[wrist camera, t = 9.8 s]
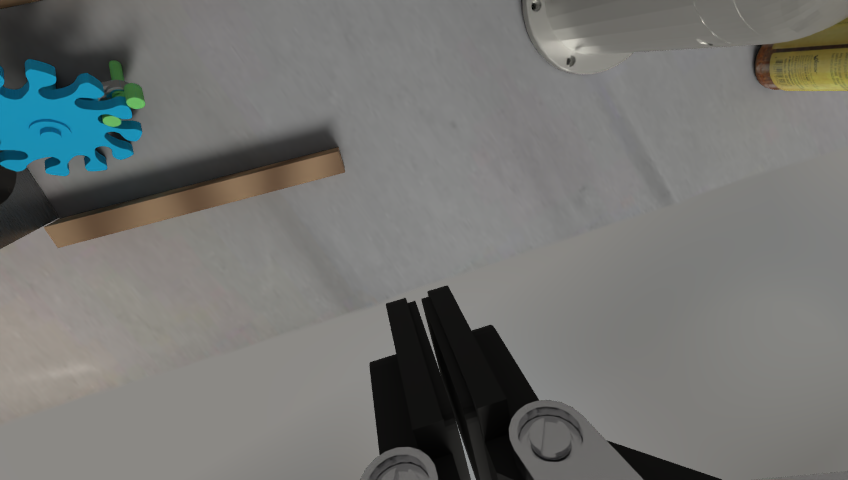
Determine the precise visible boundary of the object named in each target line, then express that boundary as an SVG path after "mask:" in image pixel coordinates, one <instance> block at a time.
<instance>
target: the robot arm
mask: <svg viewBox="0 0 848 480" xmlns="http://www.w3.org/2000/svg"><path fill="white" fill-rule="evenodd" d="M532 4H533V5H534V9H533V10H532V8H531V5H532ZM522 5H523V16H524V21H525V25H526V29H527V32H528V34H529V37H530V39H531V41H532V43H533V45H534V46H535V48H536V49H537V51H538V52H539V54H540V55H541V56H542V57H543V58H544V59H545V60H546V61H547V62H548V63H549V64H551V65H553V66H554V67H556V68H557V69H559V70H562V71H565V72H568V73H573V74H595V73H599V72H603V71H606V70H609V69H611V68H613V67H615V66H617V65H619V64H620V63H621V62H623V61H624V60H626V59H627V58H628V57H630V56H631V55H632V54H633V53H634V52H649V51H666V50H683V49H700V48H717V47H733V46H747V45H763V44H774V43H781V42H788V41H792V40H796V39H800V38H804V37H807V36H810V35H812V34H815V33H817V32H820V31H822V30H825V29H827V28H829V27H831V26H833V25H835V24H837V23H839V22H841V21H842V20H844V19H846V18H847V17H848V0H522ZM567 59H568V63H566V61H567ZM428 296H429V297H426V298H423V299H422V304H423V308H424V312H425V316H426V319H427V323H428V327H429V331H430V335H431V339H432V343H433V347H434V350H435V354H436V358H437V362H438V366H439V368H438V366H437V363H436V360H435V357H434V354H433V351H432V348H431V345H430V342H429V339H428V337H427V334H426V331H425V328H424V325H423V322H422V319H421V316H420V313H419V310H418V307H417V305H416V302H415V301H413V302H410V303H407V300H406V298H404V299H400V300H397V301H393V302H390V303H387V304H386V308H387V312H388V317H389V322H390V326H391V331H392V336H393V340H394V345H395V349H396V354H395V355H392V356H389V357H385V358H382V359H379V360H376V361H373V362H370V374H371V383H372V392H373V400H374V410H375V418H376V427H377V435H378V445H379V453H380V456H378V457H377V458H375V459H374V460H373V461H372V462H371V464H370V465H369V466H368V467H367V468H366V470H365V471H364V473H363V475H362V477H361V479H360V480H471V478H470V474H469V470H468V466H467V462H466V458H465V454H464V450H463V446H462V443H461V439H460V435H459V431H460V434H461V437H462V440H463V443H464V446H465V449H466V451H467V454H468V457H469V460H470V463H471V466H472V469H473V471H474V475H475V478H476V480H722V479H719V478H716V477H713V476H710V475H707V474H704V473H701V472H698V471H695V470H692V469H689V468H686V467H683V466H680V465H678V464H674V463H672V462H669V461H666V460H663V459H660V458H657V457H654V456H651V455H648V454H645V453H642V452H639V451H636V450H633V449H630V448H627V447H625V446H622V445H618V444H616V443H613V442H610V441H607V440H605V439H604V437H603V436H602V435H600V433H599V432H598V431H597V430H596V429H595V428H594V427H593V426H592V425H591V424H590V423H589V422H588V421H587V419H586V418H585V417H584V416H583V415H581V414H580V413H579V412H578V411H577V410H575V409H574V408H573V407H571V406H568V405H566V404H564V403H562V402H557V401H551V400H541V401H539V399H538V398H537V396H536V394H535V393H534V392H533V390H532V388H531V386H530V385H529V383H528V381H527V380H526V378H525V377H524V375H523V373H522V372H521V370H520V368H519V367H518V365H517V364H516V362H515V360H514V359H513V357H512V355H511V354H510V352H509V351H508V349H507V347H506V346H505V344H504V342H503V341H502V339H501V338H500V336H499V334H498V333H497V331H496V329H495V328H494V327H493V326H492V325H488V326H485V327H482V328H479V329H475V330H472V331H471V329H470V327H469V325H468V324H467V321H466V320H465V318H464V316H463V314H462V312H461V310H460V308H459V306H458V304H457V302H456V300H455V299H454V296H453V295H452V293H451V291H450V289H449V287H448V286H444V287H440V288H437V289H434V290H430V291H428ZM439 370H440V372H439ZM455 419H456V420H455ZM456 422H457V423H456ZM457 425H458V427H457ZM458 428H459V431H458ZM756 480H848V471H845V472H834V473H823V474H812V475H800V476H790V477H778V478H768V479H756Z"/></svg>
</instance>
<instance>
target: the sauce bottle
mask: <svg viewBox="0 0 848 480" xmlns="http://www.w3.org/2000/svg"><path fill="white" fill-rule="evenodd" d="M755 75H756V77H757V80H758V81H759V83H760V84H761V85H763V86H764V87H767V88H770V89H774V90H779V89H780V90H786V91H848V17H847V18H846V19H844V20H842V21H841V22H839V23H837V24H835V25H833V26H831V27H829V28H827V29H825V30H822V31H820V32H817V33H815V34H812V35H810V36H807V37H804V38H800V39H796V40H792V41H788V42H781V43H774V44H763V45H762V46H761V48H760V50H759V51H758V54H757V57H756V62H755Z"/></svg>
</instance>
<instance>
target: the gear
mask: <svg viewBox="0 0 848 480" xmlns="http://www.w3.org/2000/svg"><path fill="white" fill-rule="evenodd" d="M109 69H110V75H111V80H110V81H106V82H100V81H99V80H98V79H96V78H95V77H93V76H92V75H90V74H88V73H83V74H80V75H78V76H77V79H76V80H75V81H74V83H72V84H71V85H69V86H67V87H64V88H60V89H56V84H55V82H56V72H55V67H54V66H52V65H50V64H47V63H44V62H40V61H37V60H32V59H28V60H26V62H25V74H26V77H27V79H28V81H27V82H26V84H25V85H24V86H23V87H22V88H20V89H16V90H13V89H8V88H5V87H3V84H4V70H3V68H2V67H1V66H0V150H8V151H3V152H1V153H0V165H1V166H3V167H5V168H7V169H10V170H13V171H16V172H18V171H23V170H25V169H26V167H27V165H28V164H29V163H31V162H32V161H34V160H37V159H40V158H44V157H52V158H48V159H46V160H45V170H46V173H48V174H52V175H59V176H67V175H68V174H69V165H68V162H69V161H70V160H71V159H72V158H73V157H74V156H77V155H84V156H85V157H84V161H85V168H86V169H87V170H88V171H101V170H107V163H106V158H105V157H104V156H103V155H101V154H100V153H98V152H97V151H96V150H95V148H97V147H99V146H106V147H109V148H111V149H112V154H113V157H115V158H116V159H119V160H122V159H125V158H128V157H130V156H131V155H133V154H134V153H133V148H132V145H131V144H130V143H129V142H127V141H123V140H119V139H116V138H114V137H112V136H111V135H109V134H108V133H107V132H117V133H120V134H121V135H122V136H123V137H124V138H125V139H127V140H129V141H137V140H139V138H140V137H141V135H142V128H141V123H139V122H137V121H121V119H130V118H132V112H131V108H134V109H140V108H143V107H144V106H145V101H144V96H143V92H142V88H141V87H140V86H139V85H137V84H134V83H128V82H125V81H124V77H123V72H122V66H121V64H120V63H119V62H118V61H110V62H109ZM12 150H18V151H12Z"/></svg>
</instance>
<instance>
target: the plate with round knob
mask: <svg viewBox="0 0 848 480" xmlns="http://www.w3.org/2000/svg"><path fill="white" fill-rule="evenodd" d="M3 151H8V150H0V153H1V152H3ZM12 151H15V150H12ZM57 218H59V216H58V215H57V213H56V212H55V210H54V209H53V207H52V205H51V204H50V202H49V201H48V199H47V198H46V196H45V195H44V193H43V192H42V190H41V189H40V187H39V186H38V184H37V183H36V181H35V180H34V178H33V177H32V175H31V174H30V172H29V171H28V169H27V168H26V169H25V170H23V171H18V172H16V171H13V170H10V169H7V168H5V167H3V166H1V165H0V249H1V248H3V247H5V246H7V245H9V244H10V243H12V242H14V241H16V240H18V239H20V238H22V237H24V236H25V235H27V234H29V233H31V232H33V231H35V230H37V229H39V228H40V227H42V226H44V225H46V224H48V223H50V222H52V221H54V220H55V219H57Z"/></svg>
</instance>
